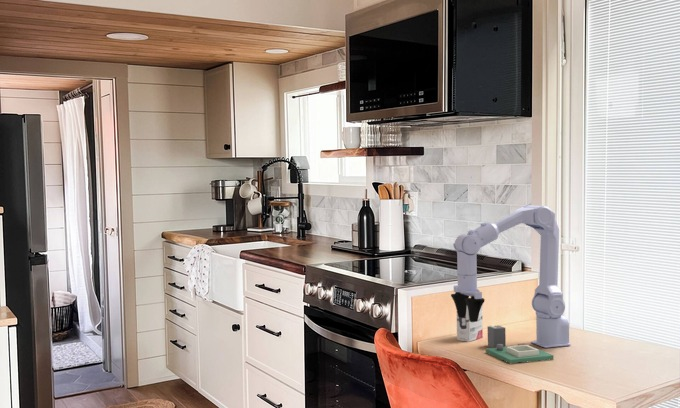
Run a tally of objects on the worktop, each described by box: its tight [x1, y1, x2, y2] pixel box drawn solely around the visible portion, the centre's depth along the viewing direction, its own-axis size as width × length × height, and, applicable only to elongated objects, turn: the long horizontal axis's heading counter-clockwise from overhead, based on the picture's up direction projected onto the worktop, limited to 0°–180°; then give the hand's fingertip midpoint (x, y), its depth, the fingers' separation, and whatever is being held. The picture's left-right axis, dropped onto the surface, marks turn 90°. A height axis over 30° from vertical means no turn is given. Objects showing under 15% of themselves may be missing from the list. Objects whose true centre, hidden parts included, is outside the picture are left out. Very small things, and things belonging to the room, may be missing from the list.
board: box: [485, 343, 554, 364], centre depth 203 cm, size 14×14×3 cm
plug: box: [487, 325, 507, 348], centre depth 215 cm, size 4×4×6 cm
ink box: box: [456, 305, 484, 343], centre depth 225 cm, size 8×5×12 cm, turn 137°
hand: (467, 319), depth 207 cm, fingers open, 7 cm apart
